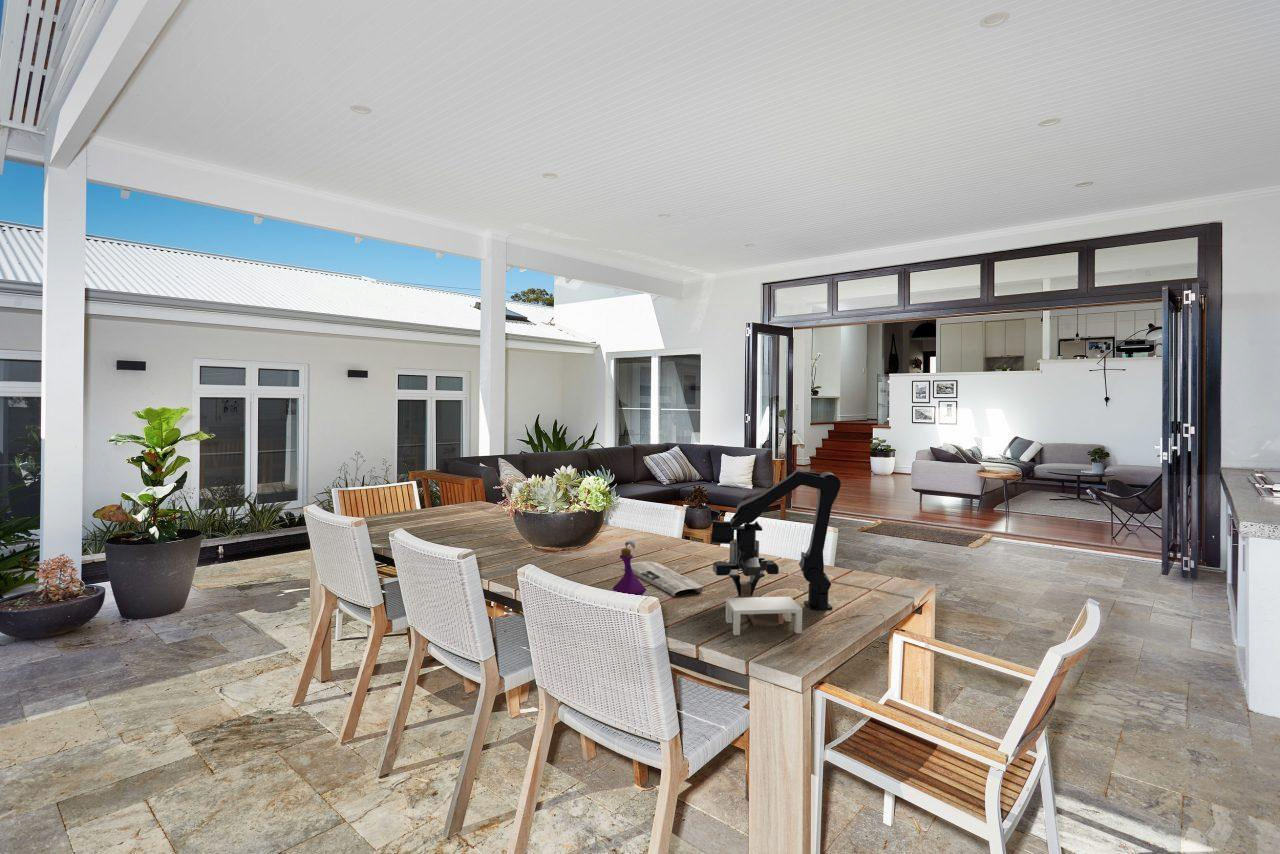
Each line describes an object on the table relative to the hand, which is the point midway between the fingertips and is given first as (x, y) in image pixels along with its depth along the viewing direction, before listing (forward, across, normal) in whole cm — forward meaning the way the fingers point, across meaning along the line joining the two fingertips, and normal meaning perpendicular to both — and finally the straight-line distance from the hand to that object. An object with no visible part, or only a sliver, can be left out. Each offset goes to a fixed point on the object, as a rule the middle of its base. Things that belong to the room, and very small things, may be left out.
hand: (745, 596), depth 193 cm
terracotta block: (+2, +4, -16) cm, 16 cm away
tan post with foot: (+2, +1, -9) cm, 9 cm away
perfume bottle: (+2, -34, +6) cm, 35 cm away
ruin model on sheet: (+3, +12, +45) cm, 47 cm away
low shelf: (+2, 0, -20) cm, 20 cm away
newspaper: (+3, -21, +24) cm, 32 cm away
